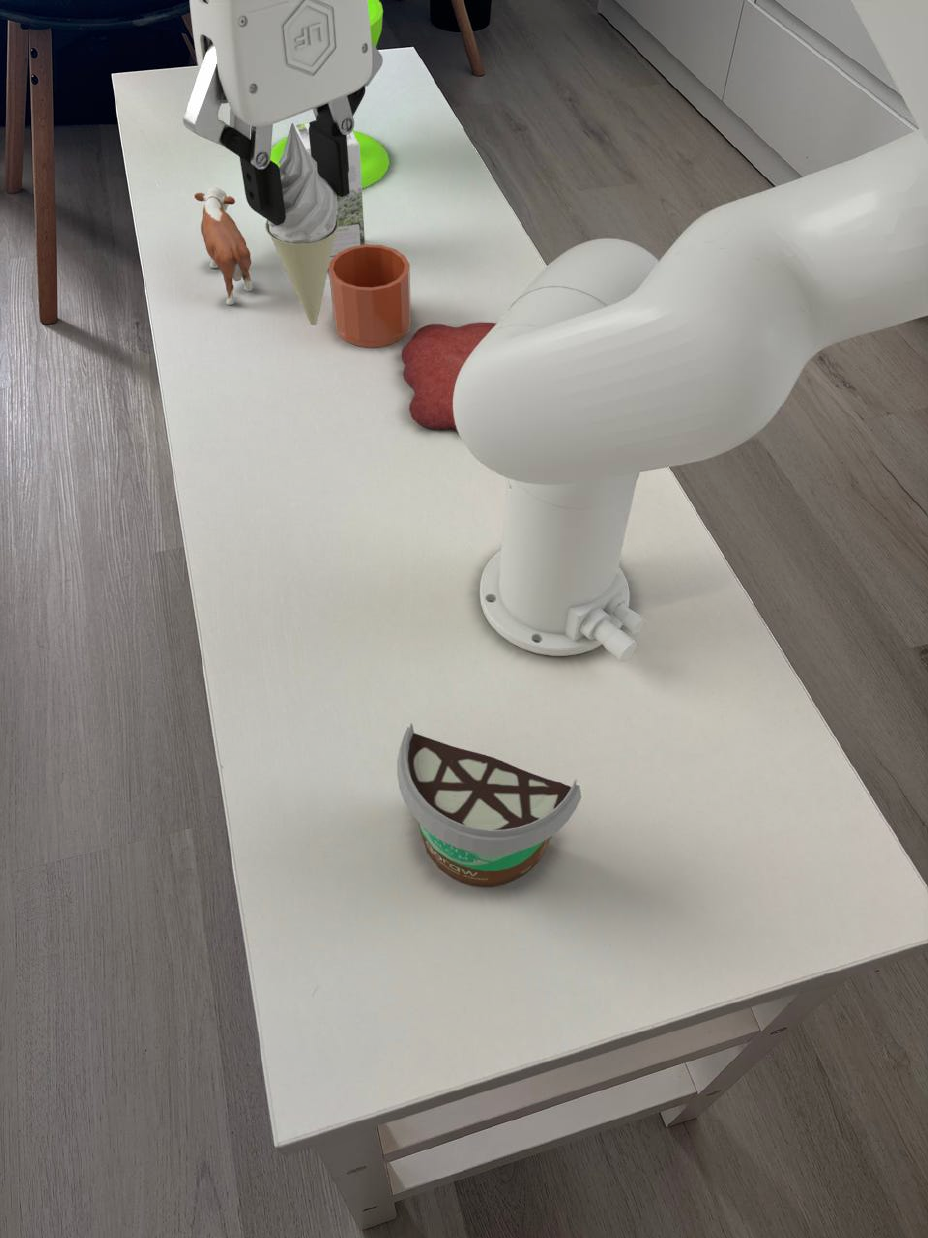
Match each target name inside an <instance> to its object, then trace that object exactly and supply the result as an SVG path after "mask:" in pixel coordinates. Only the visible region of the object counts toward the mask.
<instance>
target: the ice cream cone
mask: <svg viewBox="0 0 928 1238" xmlns="http://www.w3.org/2000/svg"><path fill="white" fill-rule="evenodd" d="M287 137H288V139H287V142H286V146H285V149H284V153H283V155H282V157H281V159H280V160H279V162H278V163H279V164H280V166H279V169H280V175H281V183H282V191H283V198H284V206H285V214H286V220H285V222H284V223H283V224H280V225H278V226H276V225H274V224H273V223H272V222H270V221H269V220H267V219H266V221H265V225H264V226H265V227H264V228H265V232H266V233H267V234H268V236H269V237H270V238H271V240H272V243H273V245H274V246H275V250H276V252H277V254H278V256H279V258H280V260H281V263H282V266H283V267H284V269H285V272H286V274H287V276H288V278H289V280H290V283H291V285H292V287H293V289H294V291H295V293H296V295H297V298H298V300H299V302H300V304H301V306H302V308H303V311H304V313H305V315H306V318H307V319H308V321H309V324H310V325H312V326H316V325H317V324H318V321H319V317H320V316H319V315H320V310H321V305H322V301H323V296H324V291H325V286H326V282H327V281H326V280H327V275H328V272H329V270H328V266H329V261H330V256H331V251H332V246H333V241H334V236H335V232H336V231H337V229H338V225H339V224H338V219H337V217H336V215H337V213H338V211H337V209H338V204H337V195H336V193H335V192H334V190H333V189H332V188H331V186H330V185H329V184H328V183H327V181H326V180H325V179H323V178H322V177H320V175H319V174H318V172H317V162H316V161H315V160H314V159H313V158H312V157H311V155H310V154H309V153H308V152H307V150H306V149H305V147H304V145H303V143H302V141H301V139H300V137H299V135H298V133H297V131H296V129H295V125H294V123H290V127H289V131H288V136H287Z"/></svg>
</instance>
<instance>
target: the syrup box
mask: <svg viewBox="0 0 928 1238" xmlns="http://www.w3.org/2000/svg"><path fill="white" fill-rule="evenodd" d="M294 127H295V129H296V131H297V133H298V135H299V137H300V139H301V141H302V143H303V145H304V147H305V149H306V150H307V152H308V153H309V154H310V155H311V149H310V139H309V128H310V125H309V122H307V123H300V124H295V125H294ZM353 131H354V130H353ZM353 131H352V132H351V133H350V134H348V135H347V149H348V163H349V172H348V178H349V194H348V195H346V196H344V197H340V196H337V204H338V209H337V211H338V213H337V215H336V217H337V219H338V224H339V225H338V229H337V231H336V232H335V236H334V241H333V246H332V251H331V256H330V261H331V260H332V259H333V258H334V257H335V256H336V255H337V254H338V253H339V252H341V251H343V250H345V249H348V248H350V247H354V246H359V245H365V244H366V235H365V234H366V233H365V222H364V221H365V218H364V204H363V203H364V202H363V201H364V200H363V188H362V181H361V162H360V146H359V143H358V141H357V140H356V138H355V136H354V133H353ZM330 261H329V265H330ZM328 271H329V266H328Z"/></svg>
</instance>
